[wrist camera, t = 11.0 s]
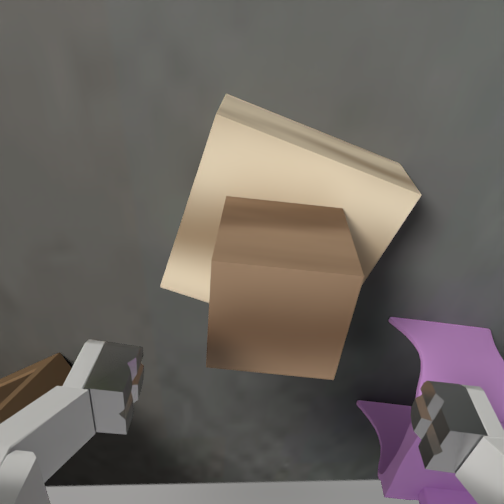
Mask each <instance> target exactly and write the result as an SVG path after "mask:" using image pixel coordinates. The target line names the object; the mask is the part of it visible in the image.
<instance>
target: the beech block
mask: <svg viewBox="0 0 504 504" xmlns="http://www.w3.org/2000/svg"><path fill="white" fill-rule="evenodd" d="M226 196H231V197H241V198H250V199H260V200H269V201H279V202H289V203H298V204H307V205H317V206H326V207H335V208H343V211H344V214H345V217H346V220H347V224H348V227H349V230H350V233H351V236H352V240H353V243H354V246H355V249H356V252H357V255H358V259H359V262H360V265H361V268H362V271H363V274H364V278H363V282H362V284H363V283H364V281H365V280H366V278H367V277H368V275H369V274H370V272H371V271H372V269H373V268H374V266H375V265H376V263H377V262H378V260H379V259H380V257H381V256H382V254H383V253H384V251H385V250H386V248H387V247H388V245H389V243H390V242H391V240H392V239H393V237H394V236H395V234H396V233H397V231H398V230H399V228H400V227H401V225H402V224H403V222H404V221H405V219H406V218H407V216H408V215H409V213H410V212H411V210H412V209H413V207H414V206H415V204H416V203H417V201H418V200H419V198H420V197H421V193H420V192H419V190H418V189H417V188H416V186H415V185H414V183H413V182H412V180H411V179H410V178H409V176H408V175H407V173H406V172H405V170H404V169H403V167H402V166H401V165H400V164H399V163H397V162H394V161H392V160H390V159H387V158H385V157H382V156H380V155H377V154H375V153H372V152H370V151H367V150H365V149H362V148H360V147H357V146H355V145H352V144H350V143H347V142H345V141H342V140H340V139H337V138H335V137H333V136H330V135H328V134H325V133H323V132H320V131H318V130H315V129H313V128H310V127H308V126H305V125H303V124H300V123H298V122H295V121H293V120H290V119H288V118H285V117H283V116H281V115H278V114H276V113H273V112H271V111H268V110H266V109H263V108H261V107H258V106H256V105H253V104H251V103H248V102H246V101H243V100H241V99H238V98H236V97H233V96H231V95H229V94H226V95H225V97H224V99H223V101H222V103H221V105H220V107H219V109H218V111H217V113H216V116H215V119H214V122H213V125H212V128H211V132H210V135H209V138H208V141H207V144H206V147H205V150H204V153H203V156H202V159H201V162H200V165H199V169H198V172H197V175H196V178H195V181H194V184H193V187H192V190H191V193H190V196H189V199H188V202H187V205H186V209H185V212H184V215H183V218H182V221H181V224H180V227H179V230H178V233H177V236H176V239H175V242H174V245H173V249H172V252H171V255H170V258H169V261H168V264H167V267H166V270H165V273H164V276H163V279H162V282H161V285H160V287H162V288H165V289H168V290H171V291H174V292H177V293H180V294H183V295H186V296H189V297H193V298H196V299H199V300H202V301H205V302H208V303H209V299H210V279H211V260H212V256H213V252H214V247H215V243H216V238H217V234H218V230H219V225H220V221H221V216H222V212H223V208H224V203H225V199H226ZM361 286H362V285H361Z"/></svg>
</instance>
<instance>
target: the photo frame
mask: <svg viewBox="0 0 504 504" xmlns="http://www.w3.org/2000/svg"><path fill="white" fill-rule="evenodd" d="M71 369H72V368H71V367H70V365H69V364H68V363H67V361H66V360H65V359H64V357H63V356H62V355H61V353H57V354H55V355H53V356H51V357H48V358H46V359H44V360H42V361H40V362H37V363H35V364H33V365H31V366H28V367H26V368H24V369H22V370H20V371H17V372H15V373H13V374H11V375H8V376H6V377H4V378H2V379H0V424H1V423H2V422H4V421H5V420H7V419H8V418H10V417H11V416H13V415H14V414H16V413H17V412H19V411H20V410H22V409H23V408H25V407H26V406H28V405H29V404H31V403H32V402H34V401H35V400H36V399H38V398H39V397H41V396H42V395H44V394H45V393H47V392H48V391H50V390H51V389H53V388H54V387H56V386H63V384H64V382H65V380H66V378H67V376H68V374H69V372H70V371H71Z"/></svg>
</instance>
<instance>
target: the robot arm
mask: <svg viewBox="0 0 504 504" xmlns="http://www.w3.org/2000/svg"><path fill="white" fill-rule="evenodd" d="M142 358H143V347H141V346H134V345H127V344H120V343H113V342H105V341H98V340H91V339H89V340H88V341H87V342H86V343H85V344H84V346H83V348H82V350H81V351H80V353H79V355H78V357H77V359H76V361H75V363H74V365H73V367H72V369H71V371H70V372H69V374H68V376H67V378H66V380H65V382H64V384H63V386H56V387H54V388H53V389H51V390H50V391H48V392H47V393H45V394H44V395H42V396H41V397H39V398H38V399H36V400H35V401H34V402H32V403H31V404H29V405H28V406H26V407H25V408H23V409H22V410H20V411H19V412H17V413H16V414H14V415H13V416H11V417H10V418H8V419H7V420H5V421H4V422H2V423H1V424H0V504H50V501H49V498H48V494H47V491H46V488H45V484H44V483H45V482H46V481H47V480H48V479H49V478H50V477H51V476H52V475H53V474H54V473H55V472H56V471H57V470H58V469H59V468H60V467H61V466H62V465H64V464H65V463H66V462H67V461H68V460H69V459H70V458H71V457H72V456H73V455H74V454H75V453H76V452H77V451H78V450H79V449H80V448H81V447H82V446H83V445H84V444H85V443H86V442H87V441H88V440H89V439H91V438H92V437H93V436H94V435H95V432H102V433H114V434H125V435H127V432H128V429H129V426H130V423H131V420H132V417H133V414H134V408H133V403H134V402H135V401H137V400H138V399H139V395H140V392H141V388H142V383H143V377H144V366H143V365H142V364H141V361H142ZM420 389H421V392H422V395H421V396H419V397H417V398H415V400H414V402H413V404H412V406H411V415H410V416H411V424H412V427H413V431H414V432H415V433H416V434H417V435H418V437H419V438H420V439H421V441H420V443H419V446H418V447H419V451H420V454H421V457H422V460H423V464H424V467H425V469H428V470H435V471H442V472H449V473H456V474H455V476H456V477H457V478H458V479H459V481H460V482H461V483H462V484H463V486H464V487H465V488H466V489H467V491H468V492H469V493H470V494H471V496H472V497H473V498H474V499H475V501H476V502H477V503H478V504H504V429H503V428H502V426H501V424H500V422H499V420H498V418H497V416H496V414H495V412H494V410H493V408H492V406H491V404H490V402H489V400H488V398H487V396H486V394H485V392H484V390H483V389H482V388H481V387H478V386H470V385H460V384H454V383H445V382H436V381H426V382H424V383H423V385H422V387H421V388H420Z"/></svg>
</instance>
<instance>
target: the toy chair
mask: <svg viewBox="0 0 504 504" xmlns="http://www.w3.org/2000/svg"><path fill="white" fill-rule="evenodd" d="M388 322H389V323H391V324H392V325H393V326H394V327H396V328H397V329H398V330H399V331H400V332H402V333H403V334H404V335H405V336H406V337H407V338H408V339H409V340H410V341H411V342H412V343H413V345H414V346H415V348H416V349H417V351H418V352H419V356H420V360H421V371H420V377H419V381H418V385H417V390H416V398H417V397H419V396H421V395H422V392H421V389H420V388H421V387H422V385H423V383H424V382H426V381H436V382H445V383H454V384H460V385H470V386H478V387H481V388H482V389H483V390H484V392H485V394H486V396H487V398H488V400H489V402H490V404H491V406H492V408H493V410H494V412H495V414H496V416H497V418H498V420H499V422H500V424H501V426H502V428H503V429H504V360H503V359H502V357H501V356H500V354H499V352H498V350H497V348H496V346H495V344H494V341H493V338H492V334H491V330H490V329H487V328H479V327H471V326H463V325H455V324H447V323H438V322H430V321H422V320H414V319H405V318H397V317H390V318H389V320H388ZM356 404H357V406H358V407H359V408H360V409H361V411H362V412H363V413H364V414H365V415H366V417H367V418H368V419H369V421H370V422H371V424H372V425H373V427H374V428H375V430H376V432H377V435H378V437H379V441H380V446H381V450H380V460H379V465H378V478H379V480H381V484H382V488H383V493H384V497H388V498H397V499H406V500H419V503H420V504H478V503H477V502H476V501H475V499H474V498H473V497H472V496H471V494H470V493H469V492H468V491H467V489H466V488H465V487H464V486H463V484H462V483H461V482H460V481H459V479H458V478H457V477H456V476H455V474H456V473H449V472H442V471H435V470H428V469H425V467H424V464H423V460H422V457H421V454H420V451H419V447H418V446H419V443H420V441H421V439H420V438H419V437H418V435H417V434H416V433H415V432H414V431H413V427H412V424H411V416H410V415H411V406H405V405H397V404H388V403H379V402H371V401H362V400H358V401H357V403H356Z"/></svg>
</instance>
